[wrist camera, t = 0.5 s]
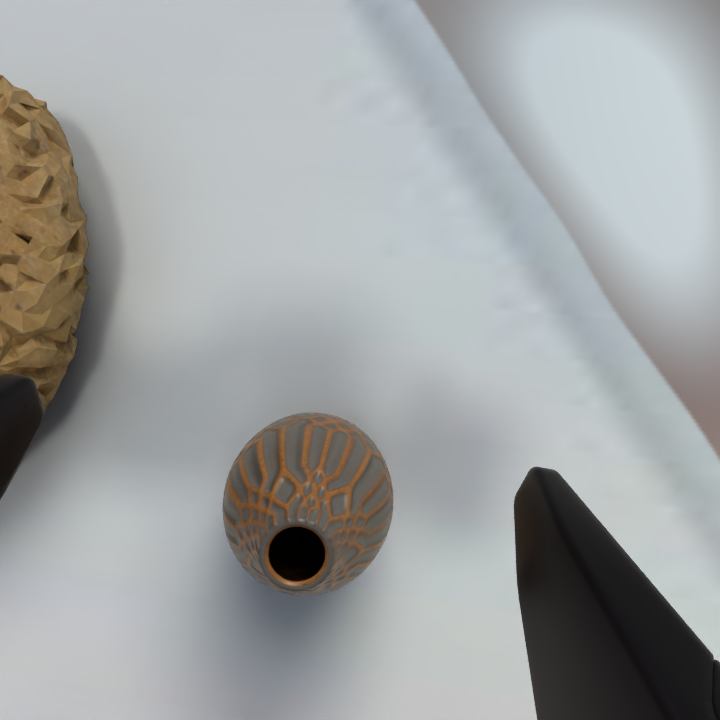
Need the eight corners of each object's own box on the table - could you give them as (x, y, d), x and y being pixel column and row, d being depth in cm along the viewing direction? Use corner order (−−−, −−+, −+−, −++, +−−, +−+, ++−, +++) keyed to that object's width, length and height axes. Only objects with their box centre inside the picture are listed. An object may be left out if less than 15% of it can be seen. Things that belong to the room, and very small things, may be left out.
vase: (361, 556, 24) (367, 687, 16) (227, 516, 24) (158, 625, 15) (405, 426, 24) (436, 485, 15) (269, 383, 24) (222, 418, 15)
